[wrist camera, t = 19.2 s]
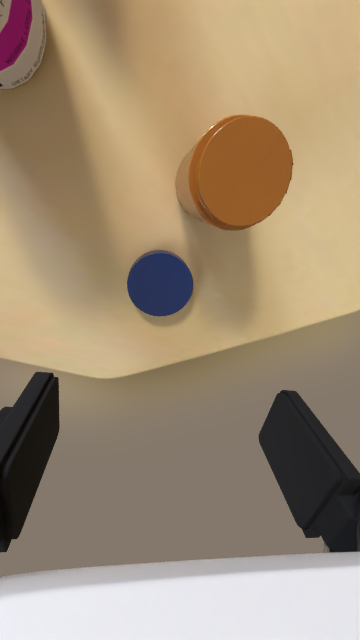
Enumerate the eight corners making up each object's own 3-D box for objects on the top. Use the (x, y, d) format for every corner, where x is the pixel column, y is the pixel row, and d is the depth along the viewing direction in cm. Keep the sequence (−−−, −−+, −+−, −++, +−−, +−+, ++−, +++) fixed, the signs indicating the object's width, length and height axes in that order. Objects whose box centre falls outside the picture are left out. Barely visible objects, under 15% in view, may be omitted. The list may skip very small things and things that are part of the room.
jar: (187, 230, 25) (209, 247, 16) (165, 159, 22) (176, 132, 13) (248, 207, 25) (304, 211, 16) (233, 132, 22) (291, 86, 13)
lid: (197, 256, 26) (200, 259, 25) (184, 313, 29) (186, 319, 28) (131, 244, 25) (130, 247, 24) (125, 306, 28) (124, 312, 26)
